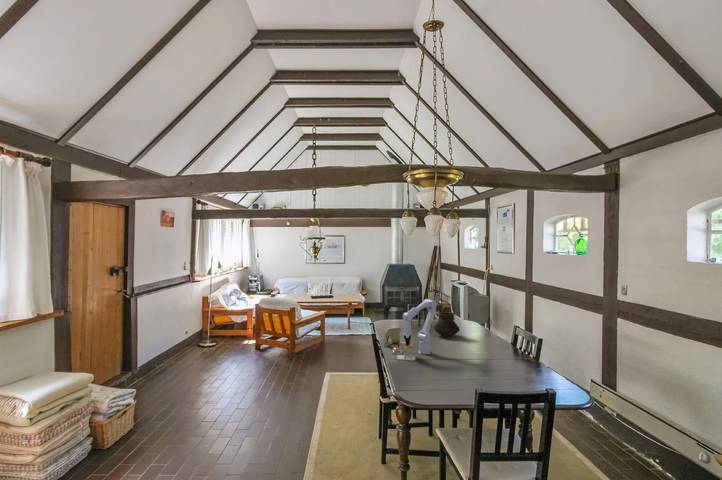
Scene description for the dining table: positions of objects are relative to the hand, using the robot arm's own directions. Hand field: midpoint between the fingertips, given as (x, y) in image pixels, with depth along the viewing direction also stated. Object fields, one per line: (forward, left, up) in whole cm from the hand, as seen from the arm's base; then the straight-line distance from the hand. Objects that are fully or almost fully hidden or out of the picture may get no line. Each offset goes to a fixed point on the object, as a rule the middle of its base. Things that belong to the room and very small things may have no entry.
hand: (407, 344), depth 296 cm
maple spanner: (0, 0, -2) cm, 2 cm away
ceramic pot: (-37, -69, -9) cm, 79 cm away
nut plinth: (+9, -8, -9) cm, 15 cm away
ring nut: (+9, -9, -8) cm, 15 cm away
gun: (+14, -34, -9) cm, 38 cm away
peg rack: (+1, +8, -9) cm, 12 cm away
